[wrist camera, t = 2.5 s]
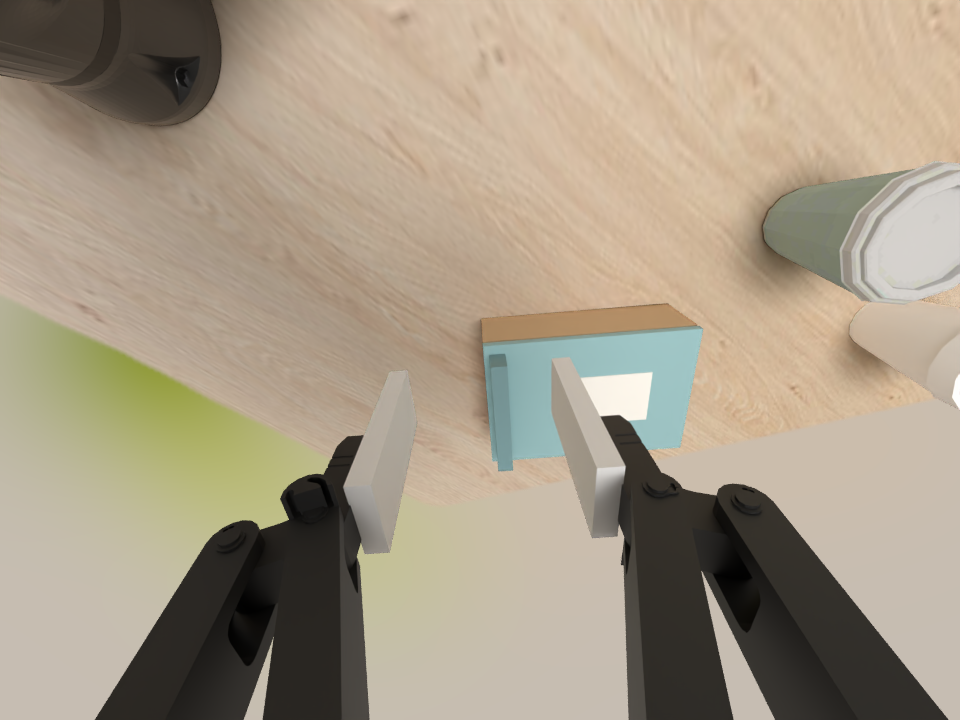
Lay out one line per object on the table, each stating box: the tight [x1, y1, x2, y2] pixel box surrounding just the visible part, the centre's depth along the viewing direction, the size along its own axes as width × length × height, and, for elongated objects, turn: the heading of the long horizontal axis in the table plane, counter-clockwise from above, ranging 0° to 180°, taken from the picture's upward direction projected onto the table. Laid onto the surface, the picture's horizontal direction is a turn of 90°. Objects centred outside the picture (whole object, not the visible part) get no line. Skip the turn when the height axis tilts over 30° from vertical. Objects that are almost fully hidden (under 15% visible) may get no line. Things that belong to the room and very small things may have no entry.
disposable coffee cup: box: [763, 161, 960, 305], centre depth 35 cm, size 11×11×15 cm
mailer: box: [481, 304, 697, 343], centre depth 46 cm, size 22×15×7 cm
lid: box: [483, 326, 703, 471], centre depth 41 cm, size 22×15×4 cm
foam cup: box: [849, 300, 960, 410], centre depth 41 cm, size 10×9×13 cm
